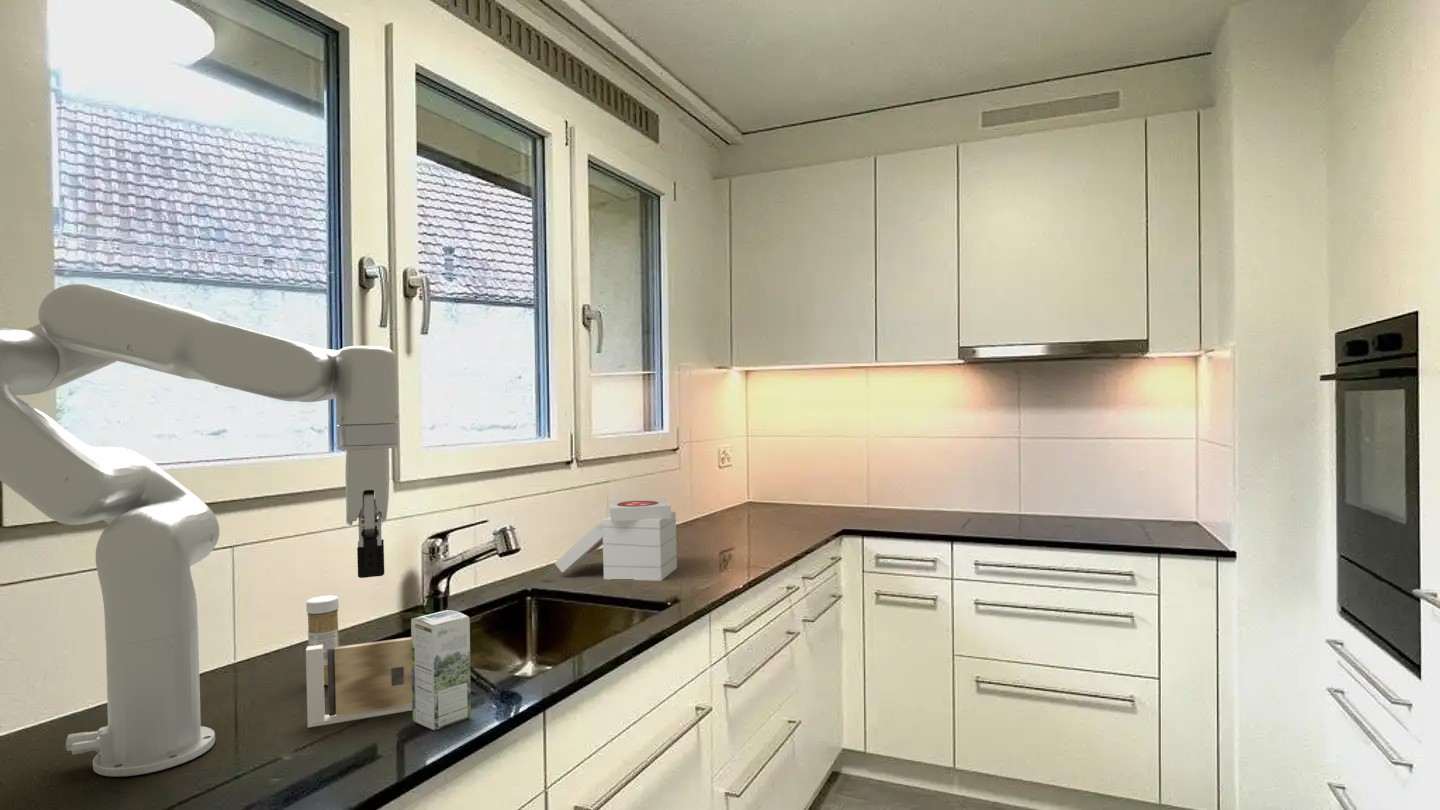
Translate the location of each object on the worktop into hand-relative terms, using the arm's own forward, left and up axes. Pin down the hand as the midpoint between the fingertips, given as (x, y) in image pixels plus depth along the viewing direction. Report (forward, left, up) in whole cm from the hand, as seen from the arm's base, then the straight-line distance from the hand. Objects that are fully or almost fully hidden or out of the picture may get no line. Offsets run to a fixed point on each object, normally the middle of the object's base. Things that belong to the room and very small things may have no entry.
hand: (371, 571), depth 106 cm
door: (0, +6, -21) cm, 21 cm away
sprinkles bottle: (-8, +24, -22) cm, 33 cm away
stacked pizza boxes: (+57, +79, -22) cm, 100 cm away
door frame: (-1, +6, -21) cm, 22 cm away
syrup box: (+8, -1, -22) cm, 23 cm away
